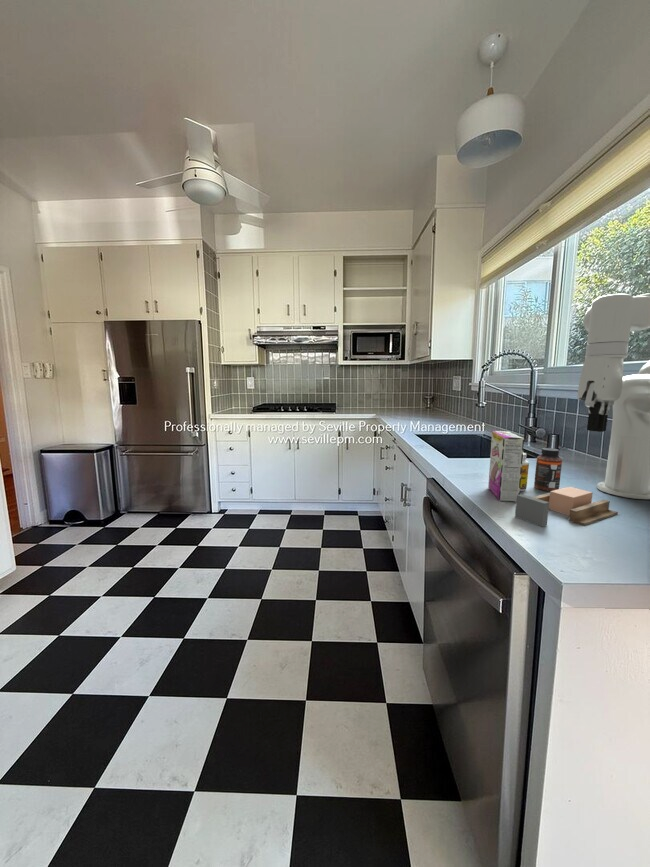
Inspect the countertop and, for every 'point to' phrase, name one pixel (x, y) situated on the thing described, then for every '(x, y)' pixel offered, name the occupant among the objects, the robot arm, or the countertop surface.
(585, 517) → the chute
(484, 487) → the countertop surface
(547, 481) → the supplement bottle
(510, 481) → the candy bar box
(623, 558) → the countertop surface
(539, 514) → the block
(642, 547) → the countertop surface
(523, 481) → the supplement bottle
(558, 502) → the block
